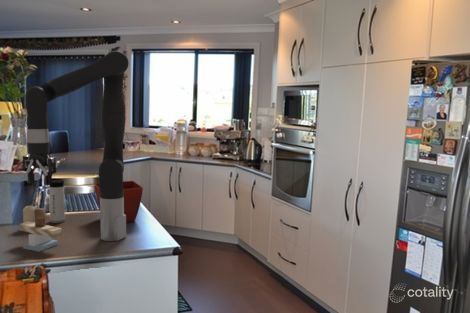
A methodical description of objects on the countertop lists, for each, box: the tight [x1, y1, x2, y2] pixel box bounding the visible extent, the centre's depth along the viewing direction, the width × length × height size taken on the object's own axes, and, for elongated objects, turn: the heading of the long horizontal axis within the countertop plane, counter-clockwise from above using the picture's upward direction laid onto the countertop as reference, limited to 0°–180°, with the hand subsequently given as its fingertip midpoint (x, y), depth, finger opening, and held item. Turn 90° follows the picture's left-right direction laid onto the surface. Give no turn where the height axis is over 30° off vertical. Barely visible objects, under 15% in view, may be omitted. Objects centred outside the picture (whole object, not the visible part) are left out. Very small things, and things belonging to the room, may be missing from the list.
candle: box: [22, 204, 38, 223], centre depth 173 cm, size 6×6×10 cm
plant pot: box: [93, 180, 144, 223], centre depth 189 cm, size 19×19×17 cm
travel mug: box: [48, 177, 66, 224], centre depth 183 cm, size 6×7×20 cm
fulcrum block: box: [22, 233, 59, 253], centre depth 151 cm, size 8×9×6 cm
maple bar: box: [19, 207, 62, 239], centre depth 150 cm, size 18×4×9 cm, turn 65°
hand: (39, 184), depth 149 cm, fingers open, 8 cm apart
